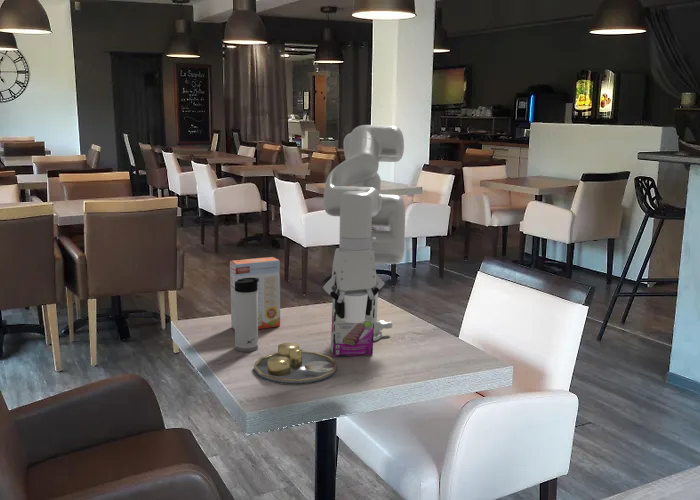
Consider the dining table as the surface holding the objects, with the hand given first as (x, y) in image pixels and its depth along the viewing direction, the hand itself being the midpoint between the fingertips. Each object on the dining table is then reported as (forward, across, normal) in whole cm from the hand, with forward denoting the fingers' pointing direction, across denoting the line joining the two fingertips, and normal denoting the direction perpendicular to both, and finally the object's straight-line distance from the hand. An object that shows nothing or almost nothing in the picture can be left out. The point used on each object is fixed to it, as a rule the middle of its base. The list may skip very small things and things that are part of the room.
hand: (353, 314), depth 169 cm
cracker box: (+18, +12, -47) cm, 52 cm away
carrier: (+16, +11, -10) cm, 22 cm away
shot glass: (+1, 0, 0) cm, 1 cm away
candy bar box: (+17, -7, -16) cm, 24 cm away
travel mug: (+17, +19, -29) cm, 39 cm away
